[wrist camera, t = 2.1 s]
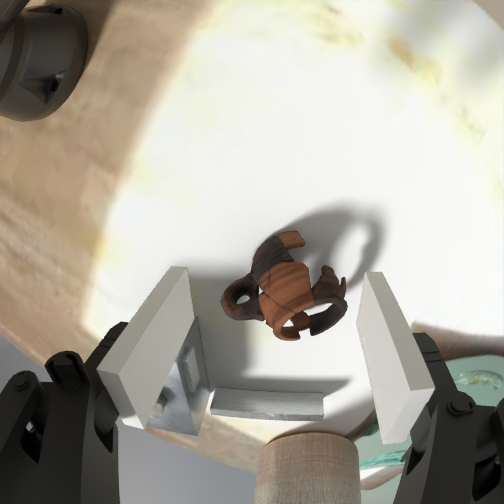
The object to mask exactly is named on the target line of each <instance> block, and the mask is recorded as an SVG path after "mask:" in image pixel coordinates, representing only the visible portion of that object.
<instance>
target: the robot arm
mask: <svg viewBox="0 0 504 504" xmlns="http://www.w3.org/2000/svg"><path fill="white" fill-rule="evenodd" d="M29 1H30V0H0V116H3V117H6V118H9V119H12V120H15V121H22V122H25V121H33V120H39V119H43V118H45V117H47V116H49V115H50V114H52V113H53V112H55V111H56V110H57V109H58V108H59V107H60V106H61V105H62V104H63V103H64V101H65V100H66V99H67V98H68V96H69V95H70V93H71V92H72V90H73V88H74V87H75V85H76V83H77V81H78V79H79V76H80V74H81V71H82V68H83V65H84V62H85V58H86V53H87V44H88V36H87V28H86V25H85V22H84V20H83V18H82V16H81V15H80V14H79V13H78V12H77V11H76V10H74V9H72V8H69V7H66V6H63V5H59V4H47V5H40V6H33V7H27V8H24V7H25V6H26V5H27V3H28V2H29ZM194 319H195V318H194V311H193V305H192V298H191V291H190V284H189V277H188V269H187V267H170V269H169V270H168V271H167V273H166V274H165V275H164V277H163V278H162V279H161V280H160V282H159V283H158V284H157V286H156V287H155V288H154V290H153V291H152V292H151V294H150V295H149V296H148V298H147V299H146V300H145V302H144V303H143V304H142V306H141V307H140V308H139V310H138V311H137V313H136V314H135V315H134V317H133V318H132V319H131V321H130V322H129V323H128V322H120V323H118V324H117V325H115V326H114V327H112V328H111V329H110V330H109V331H108V333H107V334H106V335H105V337H104V339H102V341H101V342H100V343H99V346H97V347H96V349H95V350H94V351H93V353H92V354H91V355H90V357H89V358H88V359H87V361H86V362H85V363H83V361H82V359H81V357H80V356H79V354H78V353H76V352H74V351H63V352H59V353H57V354H55V355H53V356H52V357H51V358H49V359H48V360H47V362H46V364H45V365H44V366H45V368H46V370H47V372H48V373H49V375H50V377H51V379H52V381H53V382H40V381H39V379H38V378H37V376H36V375H35V373H33V372H31V371H21V372H18V373H17V374H15V375H13V376H12V378H11V379H10V380H9V381H8V383H7V384H6V386H5V388H4V389H3V391H2V392H1V394H0V504H120V497H119V475H118V428H117V425H116V424H115V422H116V420H117V418H118V416H119V415H120V417H121V419H122V421H123V422H124V424H126V425H129V426H133V427H137V428H141V429H145V426H146V424H147V422H148V419H149V417H150V415H151V413H152V410H153V408H154V406H155V404H156V401H157V399H158V397H159V395H160V393H161V390H162V388H163V386H164V384H165V381H166V379H167V377H168V375H169V373H170V370H171V368H172V366H173V364H174V362H175V359H176V357H177V355H178V353H179V351H180V349H181V346H182V344H183V342H184V340H185V338H186V336H187V333H188V331H189V329H190V327H191V325H192V323H193V321H194ZM356 325H357V329H358V333H359V337H360V341H361V345H362V349H363V353H364V357H365V362H366V366H367V370H368V375H369V379H370V384H371V388H372V393H373V398H374V403H375V408H376V413H377V418H378V424H379V429H380V435H381V440H382V445H387V444H395V443H402V442H404V441H405V439H406V438H407V437H408V435H409V433H410V434H411V439H412V444H411V446H410V447H409V448H408V450H407V451H406V453H405V454H404V456H403V457H402V459H401V461H400V462H404V461H405V459H406V461H405V465H404V469H403V472H402V476H401V480H400V484H399V486H398V490H397V493H396V496H395V499H394V502H393V504H504V398H503V399H502V400H501V401H500V402H499V404H498V405H497V406H496V407H493V406H481V405H476V403H475V402H474V400H473V399H472V397H470V396H469V395H467V394H466V393H464V392H461V391H458V390H457V387H456V385H455V383H454V381H453V378H452V376H451V374H450V372H449V370H448V368H447V366H446V364H445V361H443V357H442V355H441V353H439V349H438V347H437V345H436V343H435V341H434V340H433V339H432V338H431V337H429V336H428V335H427V334H426V333H425V332H424V333H412V332H411V330H410V327H409V325H408V323H407V321H406V319H405V317H404V315H403V313H402V311H401V309H400V307H399V305H398V303H397V301H396V299H395V297H394V295H393V293H392V291H391V289H390V287H389V285H388V283H387V281H386V279H385V277H384V275H383V273H382V272H365V276H364V282H363V289H362V295H361V301H360V307H359V312H358V317H357V323H356ZM28 422H30V423H31V425H32V426H33V427H32V429H31V430H30V431H28V430H27V429H26V426H27V424H28ZM498 457H499V458H498Z"/></svg>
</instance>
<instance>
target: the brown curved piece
mask: <svg viewBox="0 0 504 504" xmlns="http://www.w3.org/2000/svg"><path fill="white" fill-rule="evenodd" d="M304 245H305V241H304V239H303V238H302V237H301V235H300V234H299V233H298V232H297V231H289V232H285V233H282V234H279V235H277V236H274V237H272V238H270V239H268V240H266V241H265V242H264V243H263V244H262V245H261V246H260V247H259V248H258V249H257V251H256V253H255V255H254V258H253V263H252V267H251V271H250V273H248V274H247V275H246V276H245V277H243V278H241V279H239V280H237V281H235V282H234V283H232V284H231V285H230V286H229V287H228V288H227V289H226V290H225V292H224V294H223V296H222V300H221V302H220V303H221V305H222V307H223V309H224V311H225V314H226V315H227V316H229V317H230V318H232V319H235V320H252V319H255V320H259V321H264V320H266V324H267V325H268V326H270V327H271V328H273V333H274V335H275V336H276V337H277V338H279V339H281V340H285V341H295V340H299V339H300V335H299V331H303V330H306V329H308V328H310V335H311V336H315V335H318V334H320V333H322V332H324V331H326V330H328V329H329V328H331V327H332V326H334V325H335V324H336V323H337V322H338V321H339V320H340V319H341V318H342V317H343V316H344V314H345V312H346V311H347V307H348V305H347V302H346V301H345V300H344V297H345V292H346V279H345V277H342V279H341V284H340V286H339V280H338V278H337V277H336V276H335V274H334V270H333V269H332V268H331V267H328V266H326V265H323V266H322V268H321V271H322V275H321V276H320V278H319V280H318V281H317V283H316V284H315V285H314V286H313V287H312V288H311V284H310V278H309V269H308V267H306V265H305V264H304V263H302V262H294V260H293V258H292V257H291V256H290V255H289V253H288V252H287V250H289V249H292V248H296V247H303V246H304ZM259 287H260V288H261V290H262V291H263V292H262V293H261V294H260V295H259ZM244 295H247V296H249V297H250V299H249V300H248V301H246V302H245V303H242V304H236V303H237V301H238V299H239V298H240V297H242V296H244ZM324 303H333V304H332V305H331V306H330V307H329V308H328V309H326V310H325V311H323V312H320V313H317V314H313V315H310V316H308V315H307V314H306V313H305V312H304V311H303V310H305V309H307V308H309V307H312V306H314V305H318V304H324ZM289 319H290V321H292V323H293V325H294V326H290V327H283V325H284V324H285V323H286V322H287V321H288V320H289Z"/></svg>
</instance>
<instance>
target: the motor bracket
mask: <svg viewBox="0 0 504 504" xmlns="http://www.w3.org/2000/svg"><path fill="white" fill-rule="evenodd" d="M194 318H195V319H194V321H193V323H192V325H191V327H190V329H189V331H188V333H187V336H186V338H185V340H184V342H183V344H182V346H181V349H180V351H179V353H178V355H177V357H176V359H175V362H174V364H173V366H172V368H171V370H170V373H169V375H168V377H167V379H166V381H165V384H164V386H163V388H162V390H161V393H160V395H159V397H158V399H157V401H156V404H155V406H154V408H153V410H152V413H151V415H150V417H149V419H148V422H147V424H146V426H149V427H153V428H157V429H162V430H167V431H172V432H177V433H182V434H188V435H194V436H198V433H199V430H200V426H201V423H202V420H203V416H204V413H205V410H206V406H207V403H208V399H209V396H210V388H209V383H208V377H207V372H206V366H205V361H204V355H203V349H202V343H201V337H200V331H199V325H198V318H197V317H194ZM210 411H211V414H212V415H220V416H229V417H239V418H251V419H265V420H287V421H322V420H323V416H324V409H323V393H300V392H271V391H254V390H240V389H229V388H219V387H216V389H215V392H214V396H213V399H212V403H211V407H210Z"/></svg>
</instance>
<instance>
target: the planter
mask: <svg viewBox="0 0 504 504" xmlns="http://www.w3.org/2000/svg"><path fill="white" fill-rule="evenodd" d="M254 504H361V489H360V472H359V458H358V451H357V447H356V445H355V444H354V443H353V442H352V441H350V440H349V439H347V438H345V437H342V436H339V435H335V434H330V433H319V432H309V433H299V434H293V435H289V436H285V437H281V438H279V439H276V440H274V441H272V442H270V443H269V444H267V445H266V446H265V447H264V448H263V449H262V451H261V454H260V458H259V465H258V473H257V482H256V491H255V498H254Z"/></svg>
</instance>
